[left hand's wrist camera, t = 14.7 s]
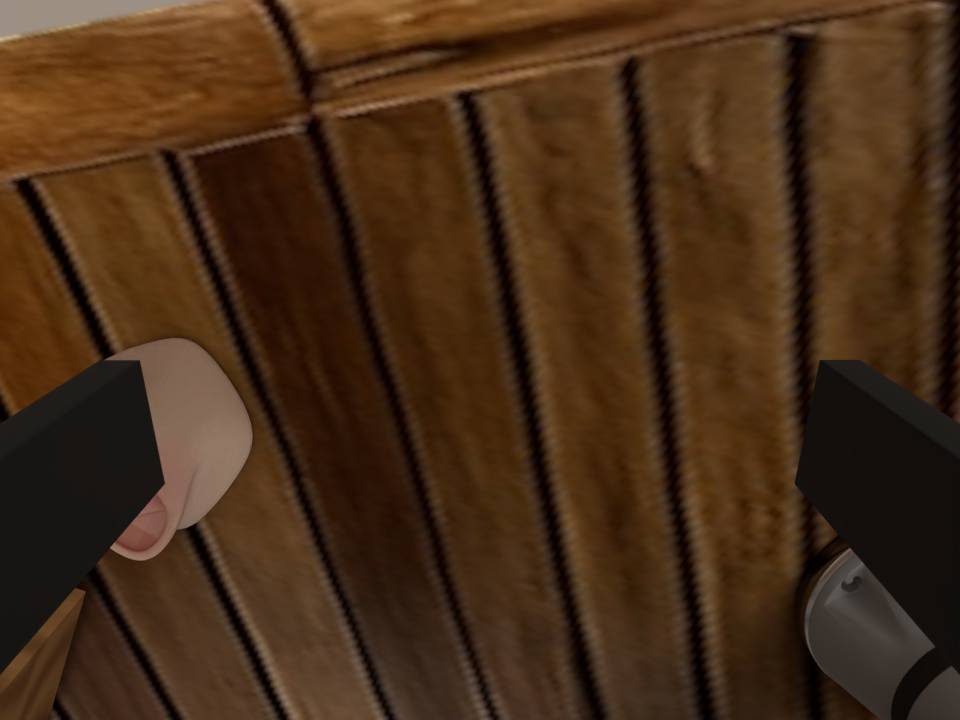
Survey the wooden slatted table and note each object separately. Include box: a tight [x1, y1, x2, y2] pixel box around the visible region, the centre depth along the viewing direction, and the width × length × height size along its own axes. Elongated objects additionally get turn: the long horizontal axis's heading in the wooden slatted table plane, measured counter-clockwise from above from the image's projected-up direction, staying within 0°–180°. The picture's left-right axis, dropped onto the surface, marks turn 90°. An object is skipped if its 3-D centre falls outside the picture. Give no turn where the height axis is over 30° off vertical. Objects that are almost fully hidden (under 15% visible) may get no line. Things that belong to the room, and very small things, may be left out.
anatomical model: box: [105, 338, 253, 560], centre depth 39 cm, size 13×4×12 cm
